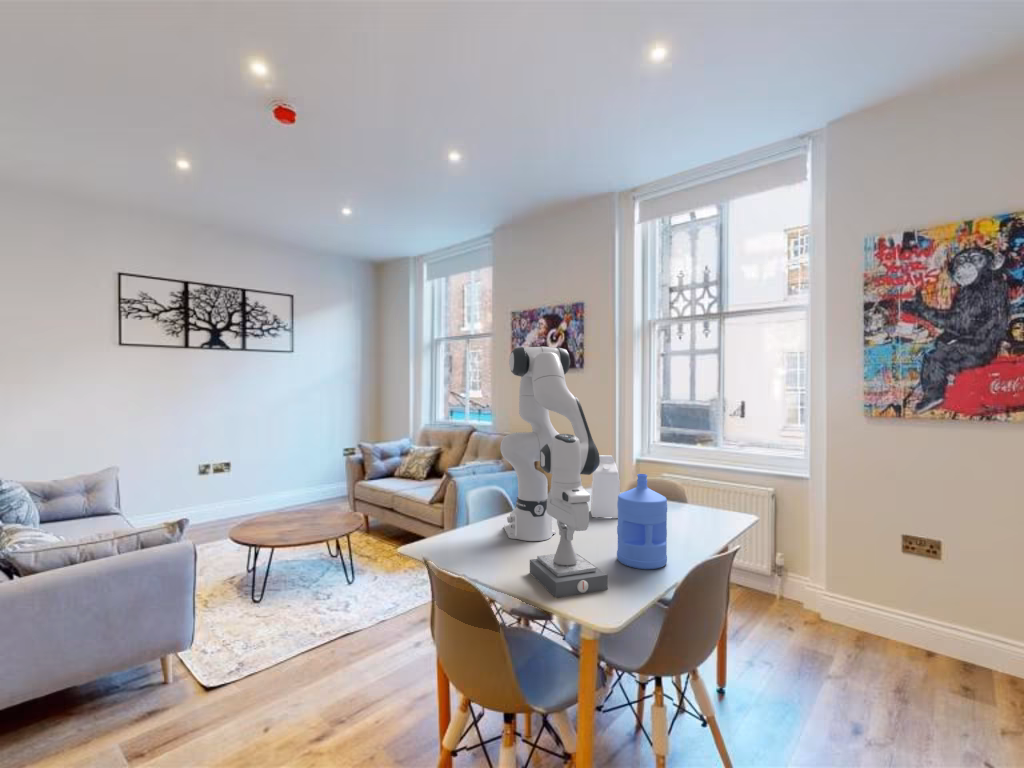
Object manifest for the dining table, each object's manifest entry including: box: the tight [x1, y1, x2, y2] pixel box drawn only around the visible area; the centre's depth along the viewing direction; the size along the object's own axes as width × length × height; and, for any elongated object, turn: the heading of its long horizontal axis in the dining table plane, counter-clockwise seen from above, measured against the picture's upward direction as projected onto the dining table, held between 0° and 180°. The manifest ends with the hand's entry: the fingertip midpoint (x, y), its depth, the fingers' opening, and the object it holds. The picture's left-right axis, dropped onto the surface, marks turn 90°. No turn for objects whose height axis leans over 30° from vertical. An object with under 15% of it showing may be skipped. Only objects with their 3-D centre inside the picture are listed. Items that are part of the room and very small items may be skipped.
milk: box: [590, 454, 621, 518], centre depth 213 cm, size 12×12×26 cm
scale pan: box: [536, 553, 597, 577], centre depth 141 cm, size 14×12×1 cm
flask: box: [553, 525, 578, 565], centre depth 141 cm, size 7×7×10 cm
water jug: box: [616, 473, 668, 570], centre depth 156 cm, size 16×16×28 cm
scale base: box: [529, 553, 609, 598], centre depth 140 cm, size 19×16×4 cm
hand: (565, 537), depth 141 cm, fingers open, 3 cm apart
